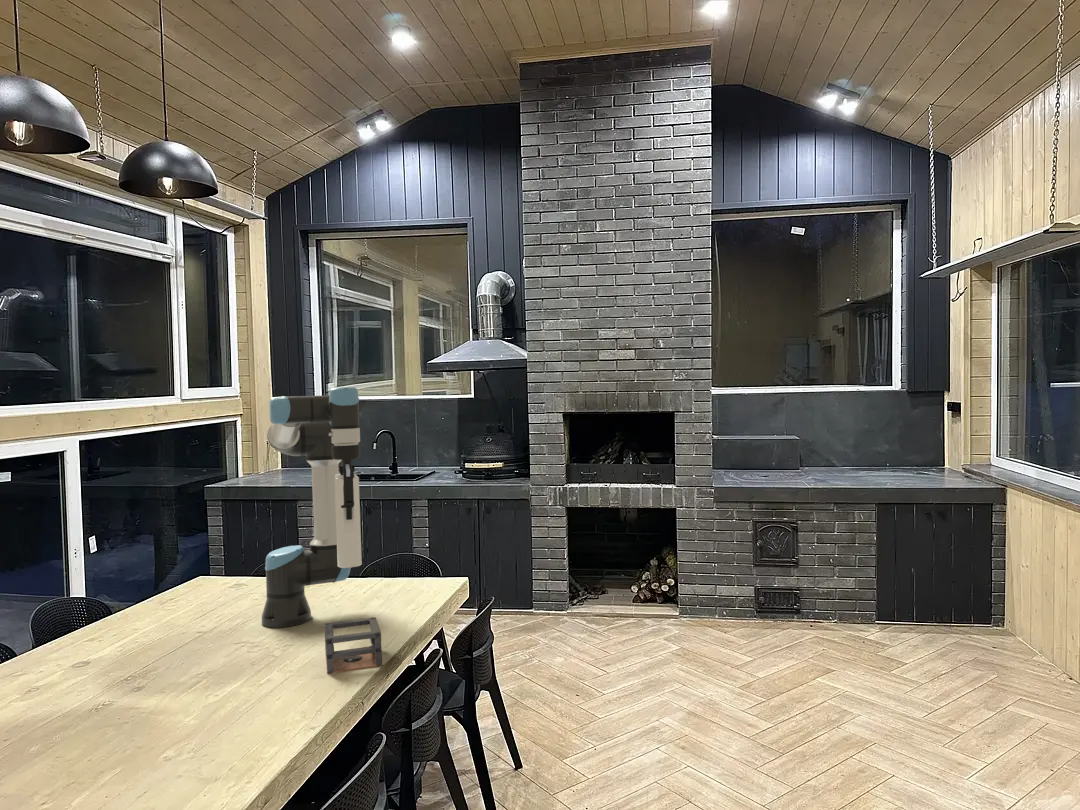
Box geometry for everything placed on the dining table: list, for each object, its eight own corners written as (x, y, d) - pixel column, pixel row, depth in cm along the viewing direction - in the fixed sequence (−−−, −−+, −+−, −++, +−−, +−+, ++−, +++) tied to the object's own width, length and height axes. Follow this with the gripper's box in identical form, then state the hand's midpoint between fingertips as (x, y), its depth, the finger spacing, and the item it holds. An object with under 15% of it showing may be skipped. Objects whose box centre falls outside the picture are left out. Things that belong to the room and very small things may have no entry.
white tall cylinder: (355, 568, 189) (352, 474, 189) (332, 567, 190) (329, 475, 190) (366, 562, 196) (362, 472, 195) (344, 562, 197) (341, 472, 196)
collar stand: (325, 655, 198) (324, 623, 198) (376, 648, 203) (375, 617, 202) (327, 674, 185) (326, 639, 185) (382, 666, 189) (380, 632, 189)
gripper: (330, 442, 200) (332, 524, 201) (332, 447, 183) (335, 536, 183) (357, 441, 202) (360, 522, 203) (362, 445, 185) (365, 534, 185)
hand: (348, 529), depth 193 cm, fingers closed on white tall cylinder, 5 cm apart
